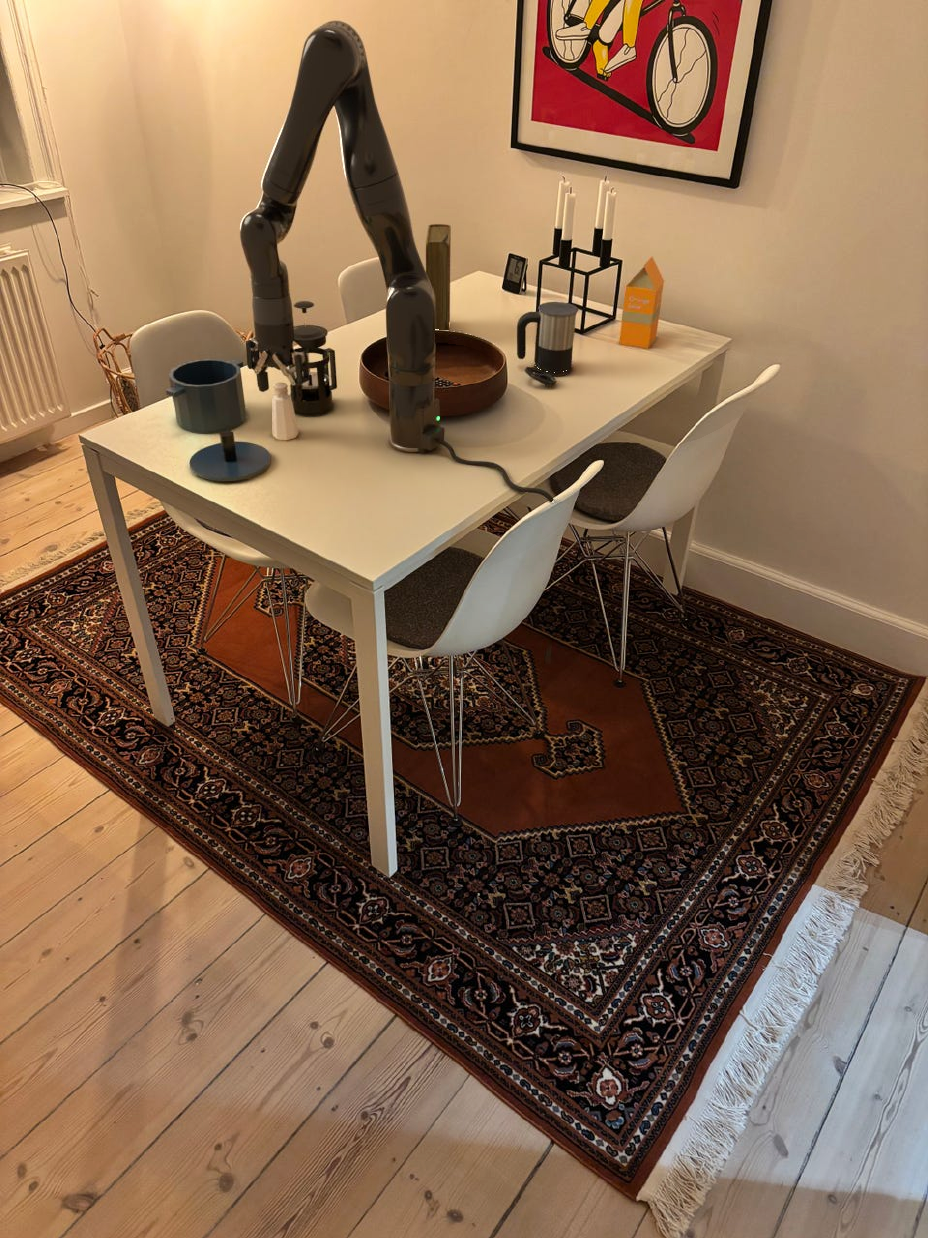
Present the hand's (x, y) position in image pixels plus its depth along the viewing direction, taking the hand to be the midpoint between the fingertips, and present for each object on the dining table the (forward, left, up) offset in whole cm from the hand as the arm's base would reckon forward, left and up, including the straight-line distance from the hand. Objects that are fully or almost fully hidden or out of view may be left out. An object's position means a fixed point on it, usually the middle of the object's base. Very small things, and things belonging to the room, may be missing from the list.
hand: (280, 395), depth 196 cm
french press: (+4, -14, -9) cm, 17 cm away
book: (+6, -67, -9) cm, 67 cm away
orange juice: (-38, -92, -9) cm, 100 cm away
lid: (0, +16, -8) cm, 18 cm away
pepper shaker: (0, 0, -9) cm, 9 cm away
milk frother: (-30, -59, -9) cm, 67 cm away
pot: (+18, +3, -9) cm, 20 cm away
